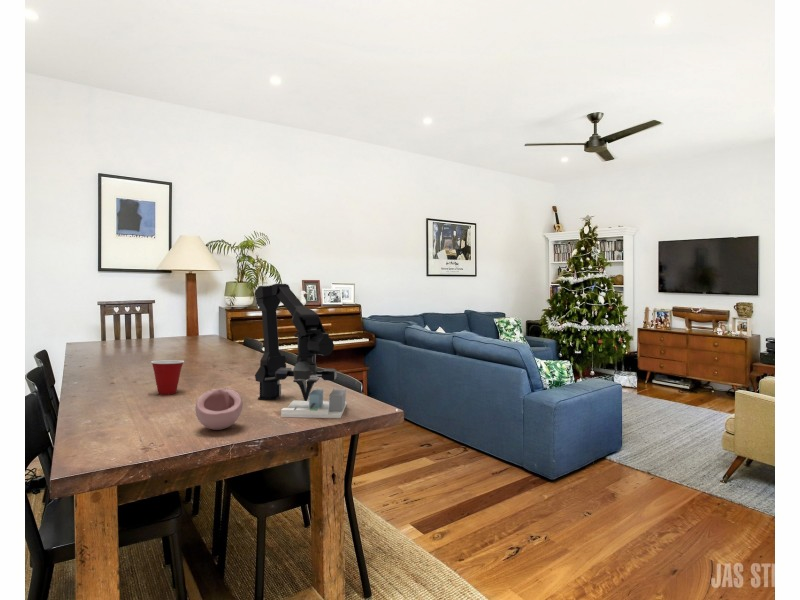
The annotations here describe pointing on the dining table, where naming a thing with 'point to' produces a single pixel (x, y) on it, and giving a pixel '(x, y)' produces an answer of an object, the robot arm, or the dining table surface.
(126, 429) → the dining table surface
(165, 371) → the plastic cup
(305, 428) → the dining table surface
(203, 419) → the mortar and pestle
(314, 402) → the plunger
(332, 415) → the frame
